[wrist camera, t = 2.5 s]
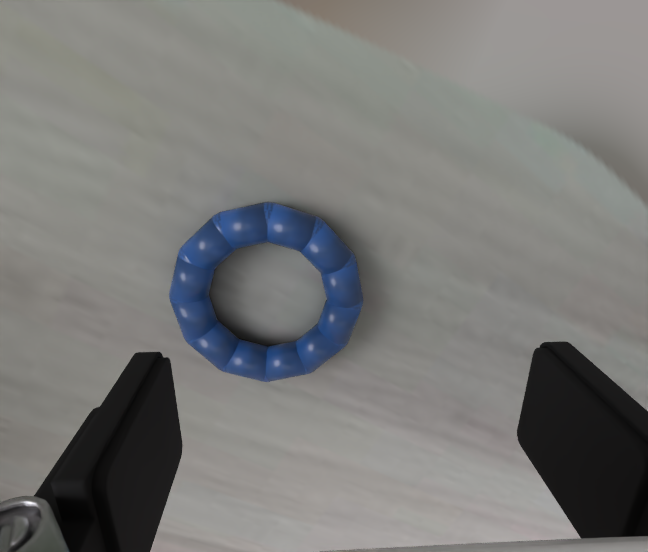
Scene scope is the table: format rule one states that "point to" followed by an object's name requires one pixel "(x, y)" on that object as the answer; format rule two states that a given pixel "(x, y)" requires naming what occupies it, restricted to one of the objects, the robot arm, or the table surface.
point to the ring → (253, 229)
